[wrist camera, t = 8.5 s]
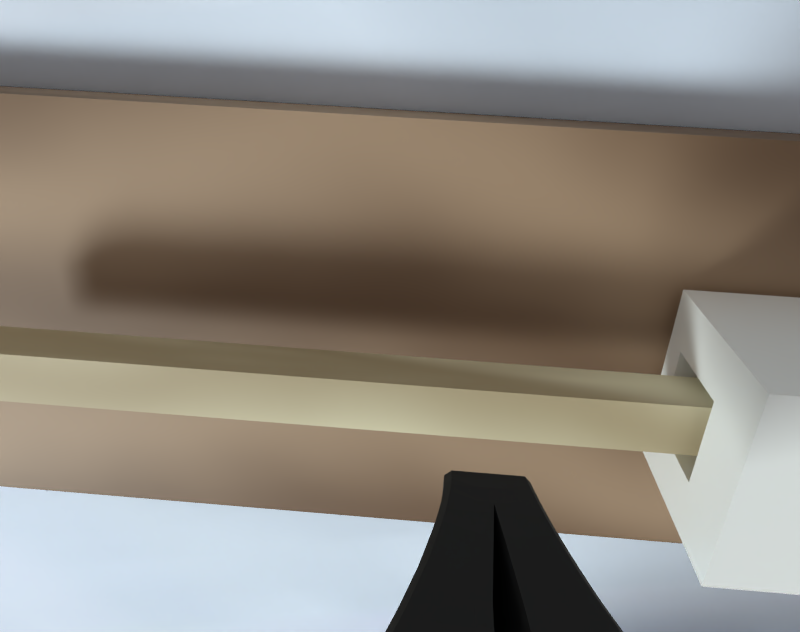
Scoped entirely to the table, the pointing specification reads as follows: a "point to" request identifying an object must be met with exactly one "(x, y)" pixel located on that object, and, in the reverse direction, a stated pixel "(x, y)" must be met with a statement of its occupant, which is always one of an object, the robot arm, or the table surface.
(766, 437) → the sleeve
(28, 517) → the table surface
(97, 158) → the board
